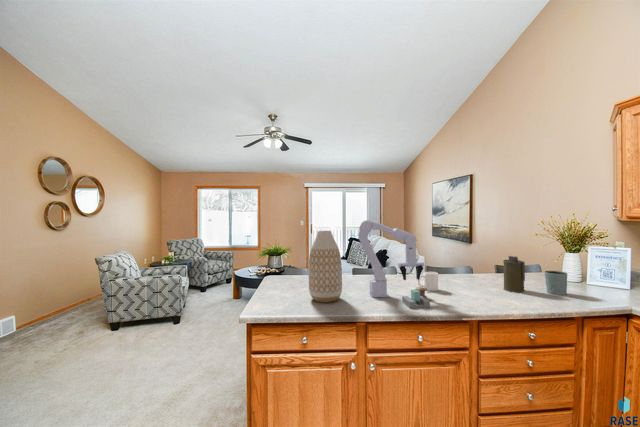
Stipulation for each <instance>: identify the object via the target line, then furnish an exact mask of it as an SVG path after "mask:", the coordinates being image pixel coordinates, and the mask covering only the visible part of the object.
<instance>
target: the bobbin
mask: <svg viewBox="0 0 640 427" xmlns="http://www.w3.org/2000/svg"><path fill="white" fill-rule="evenodd" d="M416 289H417V290H418V291H420V296H423V297H424V298H426V299H427V300H428V296H427V295H426V293H425V292H427V288H424V287H421V286H418V287H415V290H416Z"/></svg>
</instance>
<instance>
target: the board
mask: <svg viewBox="0 0 640 427" xmlns="http://www.w3.org/2000/svg"><path fill="white" fill-rule="evenodd" d="M401 299H402V300H401V303H403V305H404V306H406V307H408V308H409V309H418V308H419V309H420V308H423V309H424V308H431V301H430V300H429V299H428V298H427V299H426V298H424V297H423V296H420V304H418V303H417V304H415V301H413V300H412V299H411V297H410V296H408V295H406V296H405V295H404V296H402V297H401Z"/></svg>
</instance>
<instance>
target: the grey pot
mask: <svg viewBox="0 0 640 427" xmlns="http://www.w3.org/2000/svg"><path fill="white" fill-rule="evenodd" d="M544 278H545V285H546V292H547V294H551V295H555V296H566V295H567V288H568V273H567V272H565V271H562V270H561V271H559V270H545V271H544Z"/></svg>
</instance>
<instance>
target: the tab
mask: <svg viewBox="0 0 640 427" xmlns="http://www.w3.org/2000/svg"><path fill="white" fill-rule="evenodd" d="M410 294H411V295H410V298H411V299H412V300H413V301H415V304H417V303H418V304H420V291H418V290H417V289H416V288H415V289H410Z"/></svg>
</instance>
